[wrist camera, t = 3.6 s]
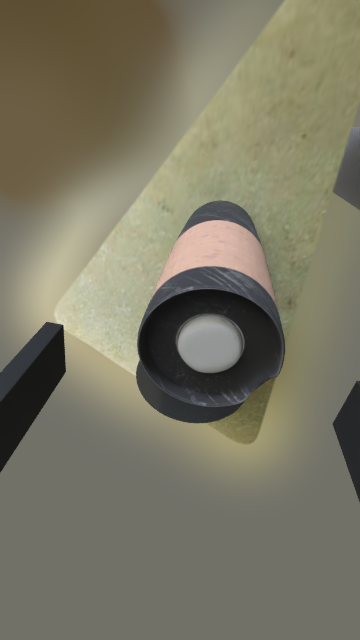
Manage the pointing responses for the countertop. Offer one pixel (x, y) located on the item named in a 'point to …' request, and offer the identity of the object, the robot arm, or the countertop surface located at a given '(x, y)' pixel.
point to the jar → (178, 403)
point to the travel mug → (213, 313)
